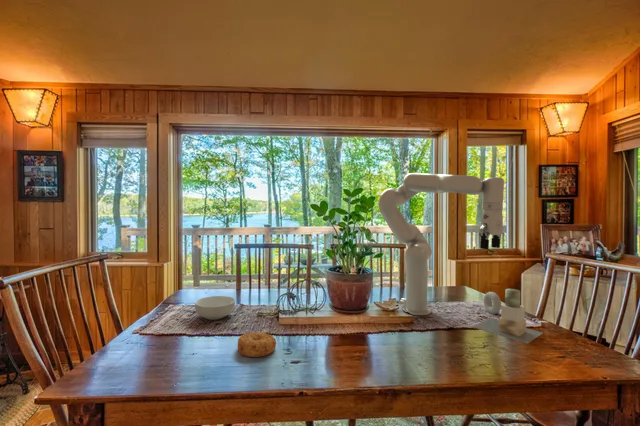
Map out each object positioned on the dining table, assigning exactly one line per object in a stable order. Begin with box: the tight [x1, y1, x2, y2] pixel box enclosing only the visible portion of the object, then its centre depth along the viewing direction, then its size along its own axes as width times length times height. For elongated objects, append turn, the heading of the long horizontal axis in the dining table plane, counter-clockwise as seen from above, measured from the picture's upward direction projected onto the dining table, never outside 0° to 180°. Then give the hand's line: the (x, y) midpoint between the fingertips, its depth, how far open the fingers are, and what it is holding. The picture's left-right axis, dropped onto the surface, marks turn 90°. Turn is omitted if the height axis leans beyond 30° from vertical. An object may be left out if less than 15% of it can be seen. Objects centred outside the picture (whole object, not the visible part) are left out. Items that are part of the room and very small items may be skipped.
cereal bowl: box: [194, 295, 236, 321], centre depth 141 cm, size 17×17×7 cm
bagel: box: [237, 331, 277, 358], centre depth 109 cm, size 13×14×5 cm
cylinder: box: [504, 288, 521, 308], centre depth 125 cm, size 5×5×6 cm
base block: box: [498, 316, 527, 336], centre depth 125 cm, size 7×7×5 cm
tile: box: [471, 318, 544, 345], centre depth 127 cm, size 20×16×1 cm
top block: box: [500, 303, 526, 322], centre depth 125 cm, size 6×6×5 cm
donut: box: [483, 291, 502, 315], centre depth 148 cm, size 10×4×10 cm, turn 7°
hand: (489, 248), depth 135 cm, fingers open, 9 cm apart
